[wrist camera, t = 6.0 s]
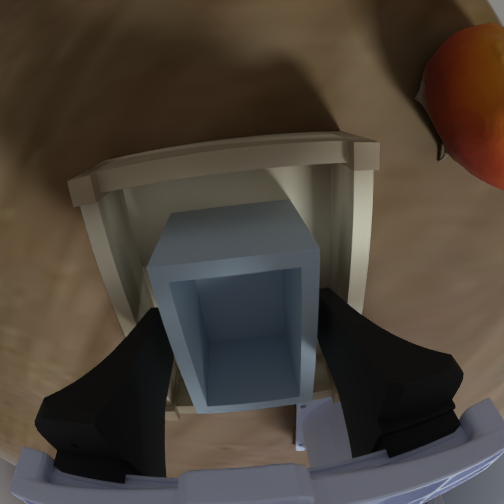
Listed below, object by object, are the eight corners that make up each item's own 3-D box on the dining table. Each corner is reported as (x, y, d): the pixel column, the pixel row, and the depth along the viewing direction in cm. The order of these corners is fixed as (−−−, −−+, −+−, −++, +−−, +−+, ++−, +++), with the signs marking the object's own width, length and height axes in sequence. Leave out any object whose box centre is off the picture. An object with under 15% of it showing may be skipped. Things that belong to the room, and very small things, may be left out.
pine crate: (332, 353, 19) (349, 399, 16) (169, 372, 19) (163, 420, 16) (340, 131, 13) (379, 142, 10) (105, 160, 13) (67, 181, 9)
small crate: (293, 333, 17) (312, 401, 13) (201, 343, 17) (197, 413, 13) (289, 199, 14) (320, 247, 9) (171, 213, 14) (146, 267, 9)
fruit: (359, 101, 11) (532, 44, 4) (405, 39, 13) (513, -2, 6) (440, 227, 14) (575, 230, 7) (467, 141, 16) (565, 128, 9)
